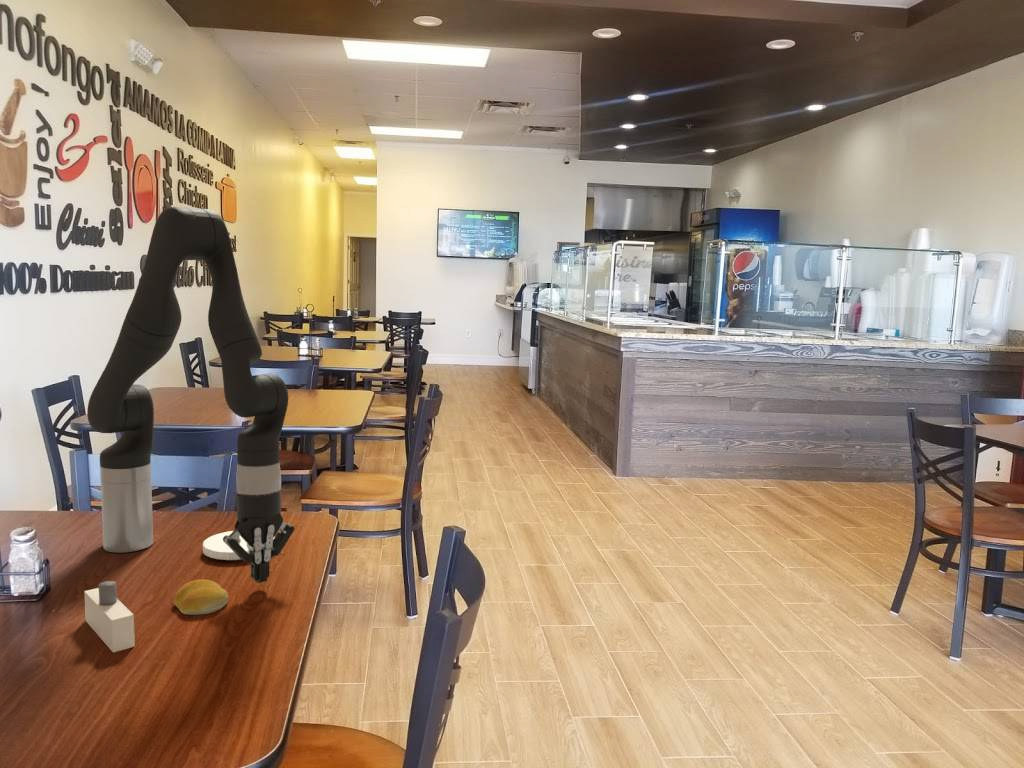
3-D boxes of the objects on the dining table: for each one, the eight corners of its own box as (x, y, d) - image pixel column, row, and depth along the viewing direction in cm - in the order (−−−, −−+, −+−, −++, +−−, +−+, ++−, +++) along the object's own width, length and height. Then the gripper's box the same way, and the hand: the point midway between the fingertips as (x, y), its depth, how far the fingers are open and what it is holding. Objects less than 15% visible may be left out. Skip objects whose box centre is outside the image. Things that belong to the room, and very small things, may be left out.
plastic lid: (273, 538, 165) (273, 527, 164) (277, 561, 152) (277, 548, 151) (203, 544, 160) (203, 532, 159) (202, 568, 147) (201, 555, 146)
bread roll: (186, 621, 124) (185, 598, 123) (169, 603, 130) (168, 581, 130) (236, 608, 129) (236, 586, 128) (217, 591, 136) (217, 570, 135)
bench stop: (85, 620, 122) (83, 573, 121) (105, 615, 124) (104, 568, 123) (113, 652, 112) (111, 600, 111) (134, 646, 114) (133, 595, 113)
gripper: (283, 477, 142) (284, 566, 144) (213, 488, 132) (215, 584, 135) (303, 485, 136) (304, 578, 138) (231, 498, 127) (233, 597, 129)
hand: (260, 581), depth 137 cm, fingers closed
